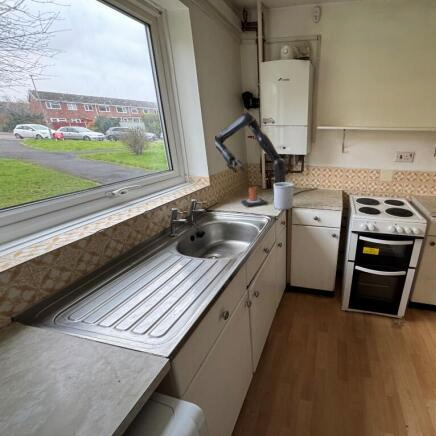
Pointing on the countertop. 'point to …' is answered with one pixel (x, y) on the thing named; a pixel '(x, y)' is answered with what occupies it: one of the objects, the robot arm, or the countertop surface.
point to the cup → (253, 193)
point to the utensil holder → (283, 195)
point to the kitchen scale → (254, 202)
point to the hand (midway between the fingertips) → (240, 171)
